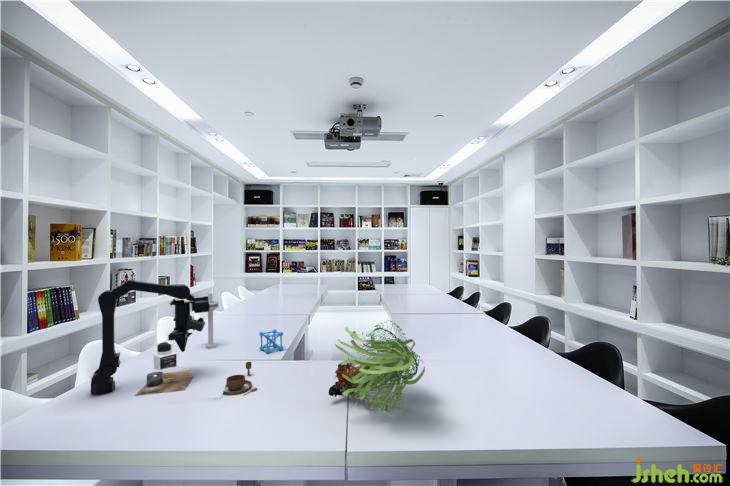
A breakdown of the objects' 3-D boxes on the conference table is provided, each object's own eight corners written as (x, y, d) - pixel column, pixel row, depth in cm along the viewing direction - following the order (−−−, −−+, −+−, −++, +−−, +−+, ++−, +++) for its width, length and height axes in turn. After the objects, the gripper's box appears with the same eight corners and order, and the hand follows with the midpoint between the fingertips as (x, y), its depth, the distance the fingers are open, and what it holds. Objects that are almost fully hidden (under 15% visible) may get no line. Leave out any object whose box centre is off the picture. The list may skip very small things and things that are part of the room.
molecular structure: (276, 346, 194) (275, 328, 194) (284, 350, 186) (283, 331, 186) (258, 350, 187) (258, 331, 188) (266, 354, 180) (266, 335, 180)
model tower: (216, 344, 200) (215, 292, 200) (221, 347, 194) (220, 293, 194) (200, 347, 195) (200, 293, 195) (205, 350, 188) (204, 295, 188)
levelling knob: (144, 386, 136) (144, 377, 136) (149, 381, 141) (149, 372, 141) (188, 382, 139) (188, 373, 139) (192, 377, 145) (192, 368, 145)
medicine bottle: (160, 372, 156) (160, 346, 156) (153, 369, 160) (153, 343, 160) (176, 368, 161) (176, 342, 161) (169, 365, 166) (169, 340, 166)
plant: (377, 354, 151) (450, 324, 126) (368, 444, 127) (456, 428, 102) (311, 321, 136) (378, 280, 112) (287, 415, 113) (366, 389, 88)
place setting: (207, 391, 136) (207, 376, 136) (248, 374, 153) (247, 361, 153) (238, 400, 127) (238, 384, 127) (277, 381, 144) (277, 367, 144)
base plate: (134, 399, 128) (134, 391, 128) (149, 384, 142) (149, 376, 143) (184, 394, 132) (184, 386, 132) (194, 379, 147) (194, 372, 147)
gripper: (198, 317, 140) (198, 356, 139) (207, 309, 158) (208, 343, 158) (167, 319, 137) (168, 359, 137) (180, 311, 155) (181, 346, 155)
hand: (183, 351), depth 147 cm, fingers closed
